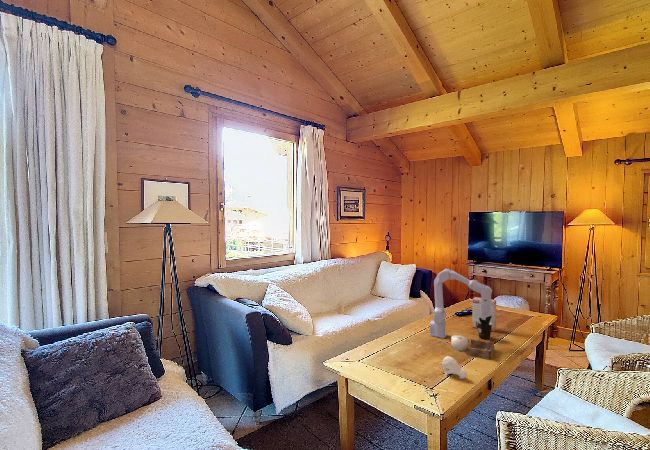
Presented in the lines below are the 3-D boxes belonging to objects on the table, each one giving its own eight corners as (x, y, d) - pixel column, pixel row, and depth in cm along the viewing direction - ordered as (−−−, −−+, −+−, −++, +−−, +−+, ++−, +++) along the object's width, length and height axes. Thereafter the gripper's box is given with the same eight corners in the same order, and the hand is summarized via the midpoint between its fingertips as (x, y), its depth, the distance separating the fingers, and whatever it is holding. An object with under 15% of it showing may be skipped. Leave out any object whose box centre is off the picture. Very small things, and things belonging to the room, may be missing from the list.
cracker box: (496, 329, 229) (496, 299, 228) (493, 332, 225) (494, 301, 224) (474, 325, 239) (475, 296, 238) (472, 327, 234) (472, 298, 233)
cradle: (466, 354, 191) (466, 345, 190) (470, 345, 203) (471, 337, 203) (491, 359, 184) (491, 350, 183) (494, 349, 197) (494, 341, 196)
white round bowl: (449, 348, 198) (449, 338, 198) (453, 343, 206) (453, 334, 206) (465, 352, 194) (466, 342, 193) (468, 347, 201) (468, 337, 201)
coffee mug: (493, 341, 210) (493, 325, 209) (478, 340, 211) (479, 324, 211) (488, 334, 221) (488, 319, 221) (474, 333, 223) (474, 318, 222)
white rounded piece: (447, 353, 172) (470, 363, 163) (446, 368, 173) (468, 379, 164) (441, 356, 168) (464, 367, 159) (439, 372, 169) (462, 384, 160)
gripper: (491, 310, 196) (490, 333, 196) (495, 304, 207) (494, 326, 208) (478, 308, 200) (477, 330, 200) (482, 302, 211) (482, 323, 212)
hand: (485, 328), depth 204 cm, fingers open, 7 cm apart
